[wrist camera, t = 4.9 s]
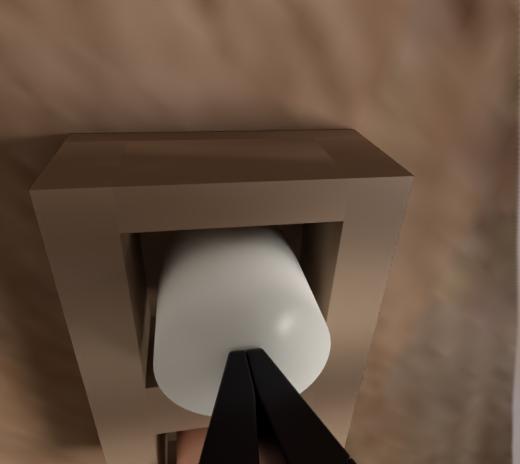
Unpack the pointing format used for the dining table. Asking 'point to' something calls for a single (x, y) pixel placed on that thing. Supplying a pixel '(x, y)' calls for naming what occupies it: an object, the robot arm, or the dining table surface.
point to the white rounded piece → (233, 311)
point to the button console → (205, 217)
